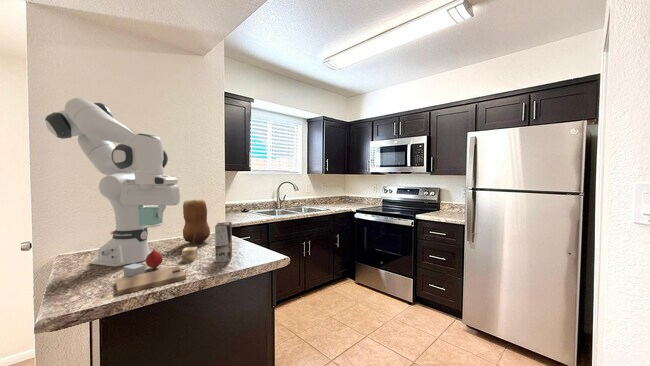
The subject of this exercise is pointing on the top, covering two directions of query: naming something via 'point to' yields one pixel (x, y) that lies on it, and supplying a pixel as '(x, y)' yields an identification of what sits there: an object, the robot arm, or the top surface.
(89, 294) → the top surface
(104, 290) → the top surface
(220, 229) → the coffee box
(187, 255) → the beech block
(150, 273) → the board
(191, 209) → the butternut squash
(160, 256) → the onion
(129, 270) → the slate block
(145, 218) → the teal block
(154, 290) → the top surface
